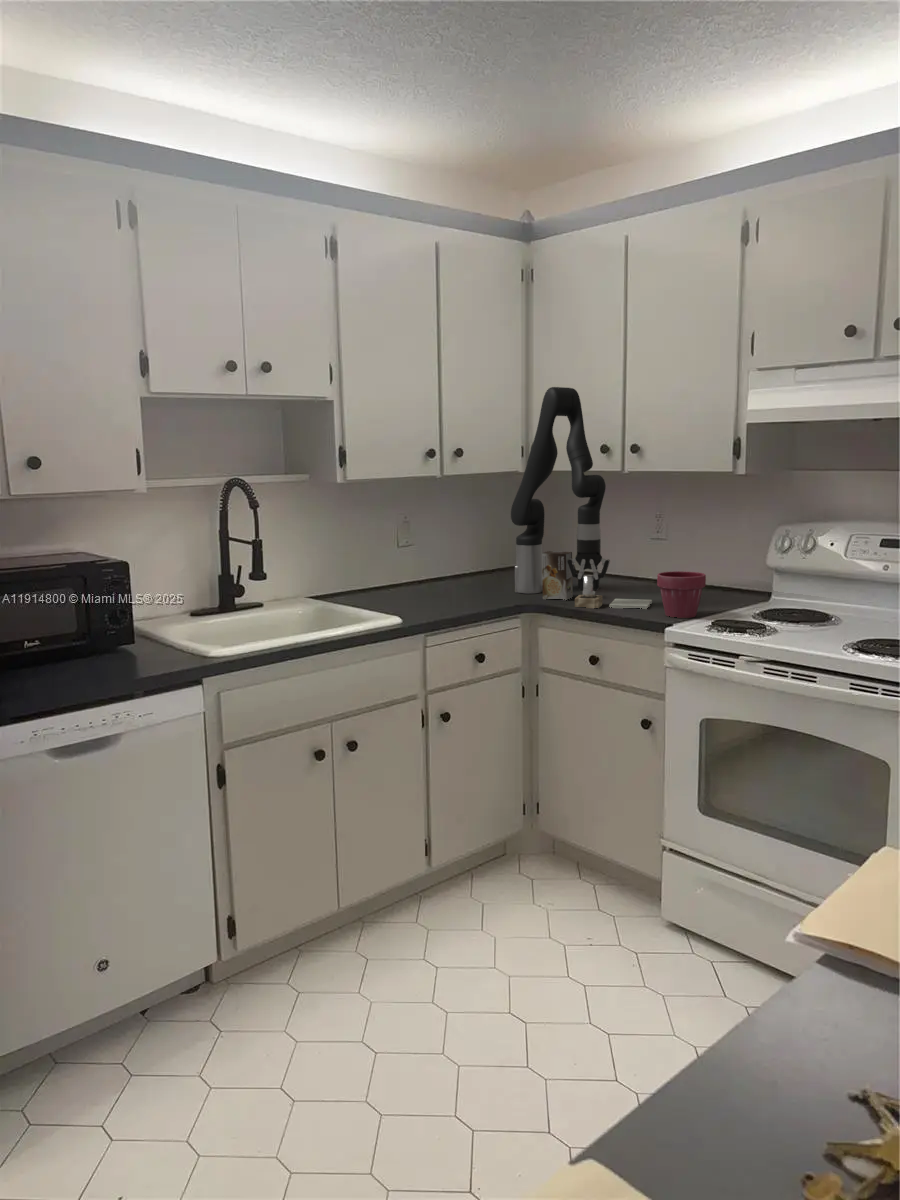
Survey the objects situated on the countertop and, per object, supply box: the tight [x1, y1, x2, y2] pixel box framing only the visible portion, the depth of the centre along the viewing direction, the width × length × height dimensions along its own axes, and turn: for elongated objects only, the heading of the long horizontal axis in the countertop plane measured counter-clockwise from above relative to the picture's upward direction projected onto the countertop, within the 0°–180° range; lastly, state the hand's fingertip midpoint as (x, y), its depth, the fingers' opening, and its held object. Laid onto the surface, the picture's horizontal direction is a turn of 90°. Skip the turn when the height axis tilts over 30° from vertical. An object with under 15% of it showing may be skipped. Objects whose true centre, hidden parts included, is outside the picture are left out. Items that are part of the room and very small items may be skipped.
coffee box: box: [542, 550, 574, 601], centre depth 303 cm, size 9×6×16 cm
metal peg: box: [582, 574, 596, 599], centre depth 288 cm, size 4×4×10 cm
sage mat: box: [608, 598, 653, 610], centre depth 288 cm, size 12×12×1 cm
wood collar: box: [574, 594, 603, 609], centre depth 289 cm, size 8×8×3 cm
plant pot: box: [656, 570, 707, 619], centre depth 268 cm, size 14×14×13 cm
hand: (588, 590), depth 288 cm, fingers closed on metal peg, 4 cm apart
